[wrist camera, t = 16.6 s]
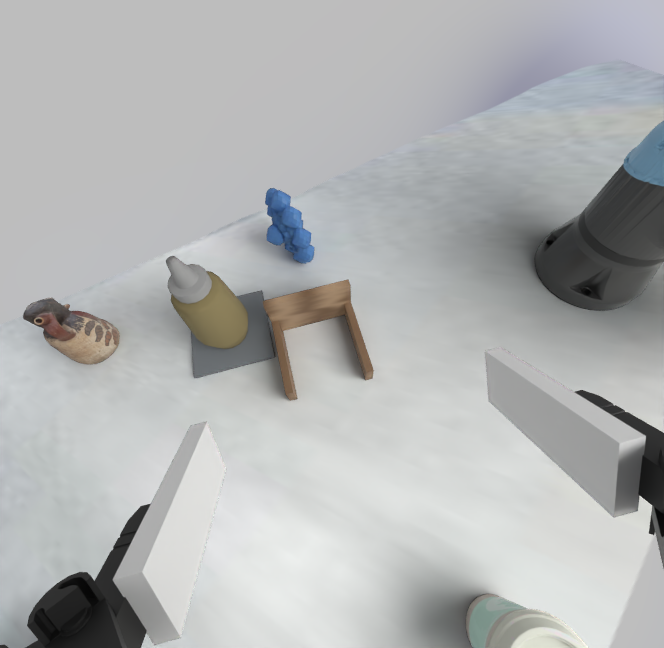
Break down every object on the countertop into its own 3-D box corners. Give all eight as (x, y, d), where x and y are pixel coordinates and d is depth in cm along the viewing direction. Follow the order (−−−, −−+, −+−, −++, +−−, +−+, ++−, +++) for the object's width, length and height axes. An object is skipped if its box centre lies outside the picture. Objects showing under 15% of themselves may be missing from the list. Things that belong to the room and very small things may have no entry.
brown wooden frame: (349, 307, 52) (348, 279, 45) (372, 378, 47) (375, 358, 39) (275, 326, 51) (262, 301, 44) (290, 400, 46) (278, 385, 39)
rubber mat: (262, 291, 54) (261, 290, 54) (274, 357, 49) (274, 356, 48) (190, 310, 54) (189, 308, 53) (195, 378, 48) (194, 377, 48)
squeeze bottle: (193, 331, 51) (120, 260, 35) (236, 300, 53) (184, 219, 37) (222, 367, 48) (155, 307, 32) (265, 332, 50) (223, 260, 34)
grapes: (259, 241, 59) (237, 187, 48) (291, 224, 60) (277, 168, 50) (291, 285, 54) (275, 236, 44) (325, 266, 56) (318, 213, 45)
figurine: (113, 316, 54) (53, 274, 43) (126, 349, 51) (65, 313, 40) (71, 339, 53) (-2, 301, 42) (81, 374, 50) (5, 343, 39)
